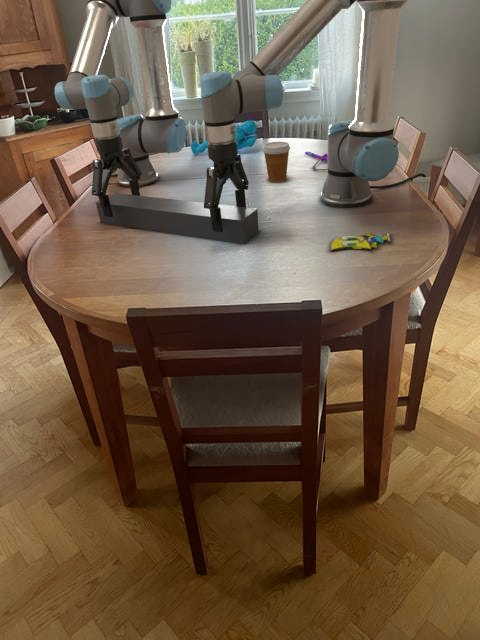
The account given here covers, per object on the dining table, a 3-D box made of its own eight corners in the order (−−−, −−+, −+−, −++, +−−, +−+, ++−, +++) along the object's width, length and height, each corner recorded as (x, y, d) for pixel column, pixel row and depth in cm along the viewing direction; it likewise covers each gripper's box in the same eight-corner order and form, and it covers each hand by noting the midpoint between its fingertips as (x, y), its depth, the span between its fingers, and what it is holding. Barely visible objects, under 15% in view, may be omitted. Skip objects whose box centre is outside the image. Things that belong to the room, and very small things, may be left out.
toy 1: (195, 134, 218) (257, 114, 208) (203, 157, 223) (264, 139, 213) (184, 143, 204) (250, 123, 194) (193, 168, 209) (257, 149, 199)
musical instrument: (342, 175, 173) (362, 153, 185) (341, 169, 172) (361, 148, 184) (283, 174, 186) (305, 153, 198) (282, 169, 184) (305, 148, 196)
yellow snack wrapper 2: (393, 247, 116) (330, 248, 119) (393, 250, 117) (330, 251, 119) (388, 230, 125) (329, 232, 127) (387, 233, 125) (329, 235, 127)
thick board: (100, 222, 149) (95, 202, 146) (119, 212, 156) (115, 192, 152) (243, 244, 127) (241, 220, 124) (258, 231, 134) (257, 208, 130)
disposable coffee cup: (260, 182, 170) (258, 147, 164) (269, 174, 177) (267, 141, 171) (286, 183, 167) (285, 148, 160) (294, 175, 174) (293, 141, 168)
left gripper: (86, 148, 126) (105, 224, 137) (144, 126, 143) (157, 195, 155) (66, 147, 129) (86, 221, 140) (125, 126, 147) (138, 193, 158)
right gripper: (208, 155, 109) (219, 241, 121) (257, 130, 127) (262, 207, 139) (181, 154, 113) (194, 238, 124) (232, 129, 130) (239, 204, 142)
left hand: (123, 208), depth 148 cm, fingers open, 13 cm apart
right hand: (230, 221), depth 131 cm, fingers open, 13 cm apart
